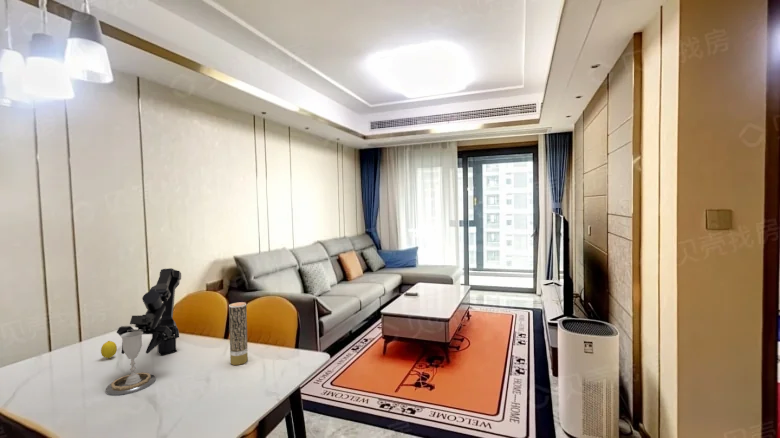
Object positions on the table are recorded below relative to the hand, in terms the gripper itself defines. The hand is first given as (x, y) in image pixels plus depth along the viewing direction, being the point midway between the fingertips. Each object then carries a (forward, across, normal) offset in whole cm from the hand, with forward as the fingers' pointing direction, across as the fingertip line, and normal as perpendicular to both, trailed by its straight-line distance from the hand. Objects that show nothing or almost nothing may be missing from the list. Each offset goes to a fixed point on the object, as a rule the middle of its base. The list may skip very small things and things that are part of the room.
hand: (134, 353), depth 133 cm
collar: (+10, 0, +6) cm, 11 cm away
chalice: (+8, 0, +6) cm, 11 cm away
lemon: (-8, -28, +24) cm, 38 cm away
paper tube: (-3, +33, +19) cm, 38 cm away
